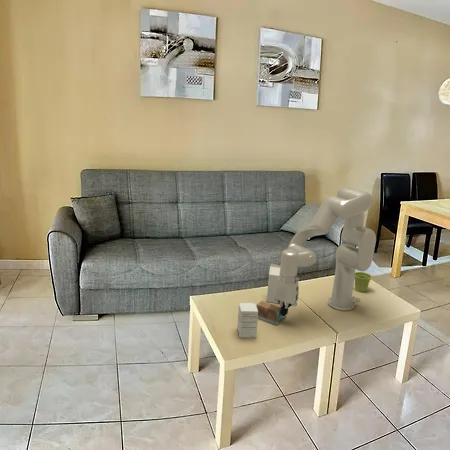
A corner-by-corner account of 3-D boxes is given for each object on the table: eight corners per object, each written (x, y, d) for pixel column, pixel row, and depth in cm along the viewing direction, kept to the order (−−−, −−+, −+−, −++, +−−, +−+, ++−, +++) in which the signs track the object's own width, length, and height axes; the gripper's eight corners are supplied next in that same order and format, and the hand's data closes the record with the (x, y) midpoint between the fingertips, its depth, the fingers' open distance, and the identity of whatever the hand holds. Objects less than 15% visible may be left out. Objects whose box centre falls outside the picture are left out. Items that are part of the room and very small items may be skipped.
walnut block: (283, 307, 178) (261, 300, 183) (278, 312, 174) (256, 304, 179) (282, 317, 179) (260, 310, 185) (277, 321, 175) (255, 314, 181)
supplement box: (236, 328, 169) (238, 302, 165) (253, 328, 170) (255, 302, 166) (238, 338, 162) (240, 311, 158) (256, 338, 163) (258, 311, 159)
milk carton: (280, 304, 193) (284, 268, 187) (266, 302, 194) (269, 266, 189) (281, 297, 199) (285, 263, 194) (267, 295, 201) (271, 261, 195)
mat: (286, 316, 181) (286, 315, 181) (276, 325, 173) (276, 324, 172) (259, 307, 188) (259, 306, 188) (249, 316, 180) (249, 315, 180)
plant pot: (348, 289, 213) (350, 274, 211) (357, 284, 220) (359, 270, 217) (364, 295, 207) (366, 280, 204) (372, 290, 213) (375, 276, 211)
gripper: (307, 279, 169) (302, 316, 174) (276, 270, 177) (272, 306, 182) (300, 285, 163) (296, 323, 168) (268, 275, 171) (265, 312, 176)
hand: (283, 314), depth 175 cm, fingers closed
